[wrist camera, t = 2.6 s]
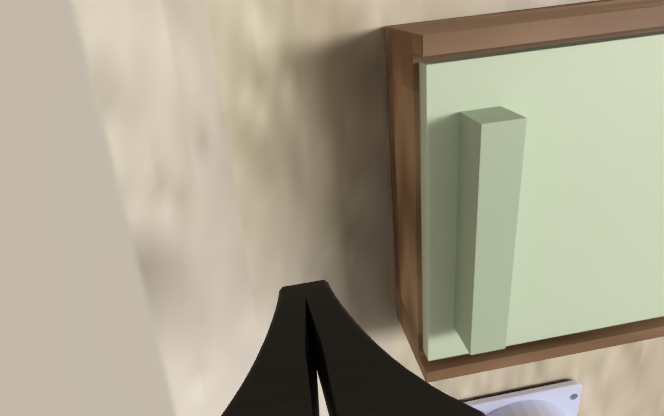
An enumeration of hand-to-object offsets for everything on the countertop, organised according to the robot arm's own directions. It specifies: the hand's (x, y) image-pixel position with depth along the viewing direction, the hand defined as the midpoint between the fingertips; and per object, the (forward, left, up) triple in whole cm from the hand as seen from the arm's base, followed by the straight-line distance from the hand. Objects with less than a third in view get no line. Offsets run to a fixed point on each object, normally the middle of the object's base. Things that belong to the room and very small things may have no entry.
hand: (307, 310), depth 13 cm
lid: (0, -11, -4) cm, 11 cm away
